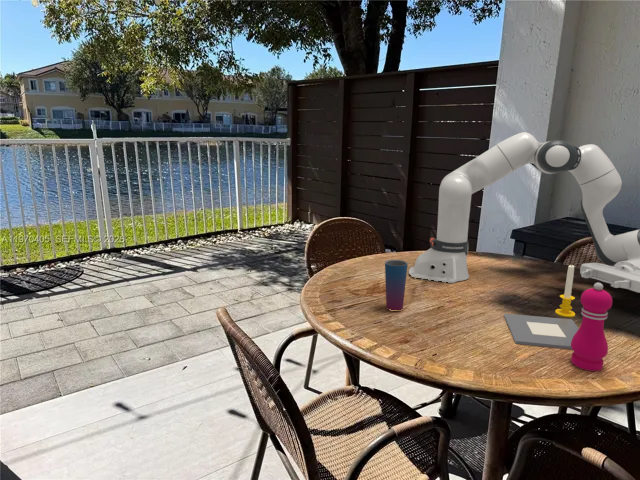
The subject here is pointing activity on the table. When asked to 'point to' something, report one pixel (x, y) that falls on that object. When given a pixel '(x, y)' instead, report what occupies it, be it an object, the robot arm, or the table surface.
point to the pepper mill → (592, 330)
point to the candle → (567, 296)
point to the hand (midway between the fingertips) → (597, 279)
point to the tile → (541, 330)
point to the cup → (395, 283)
